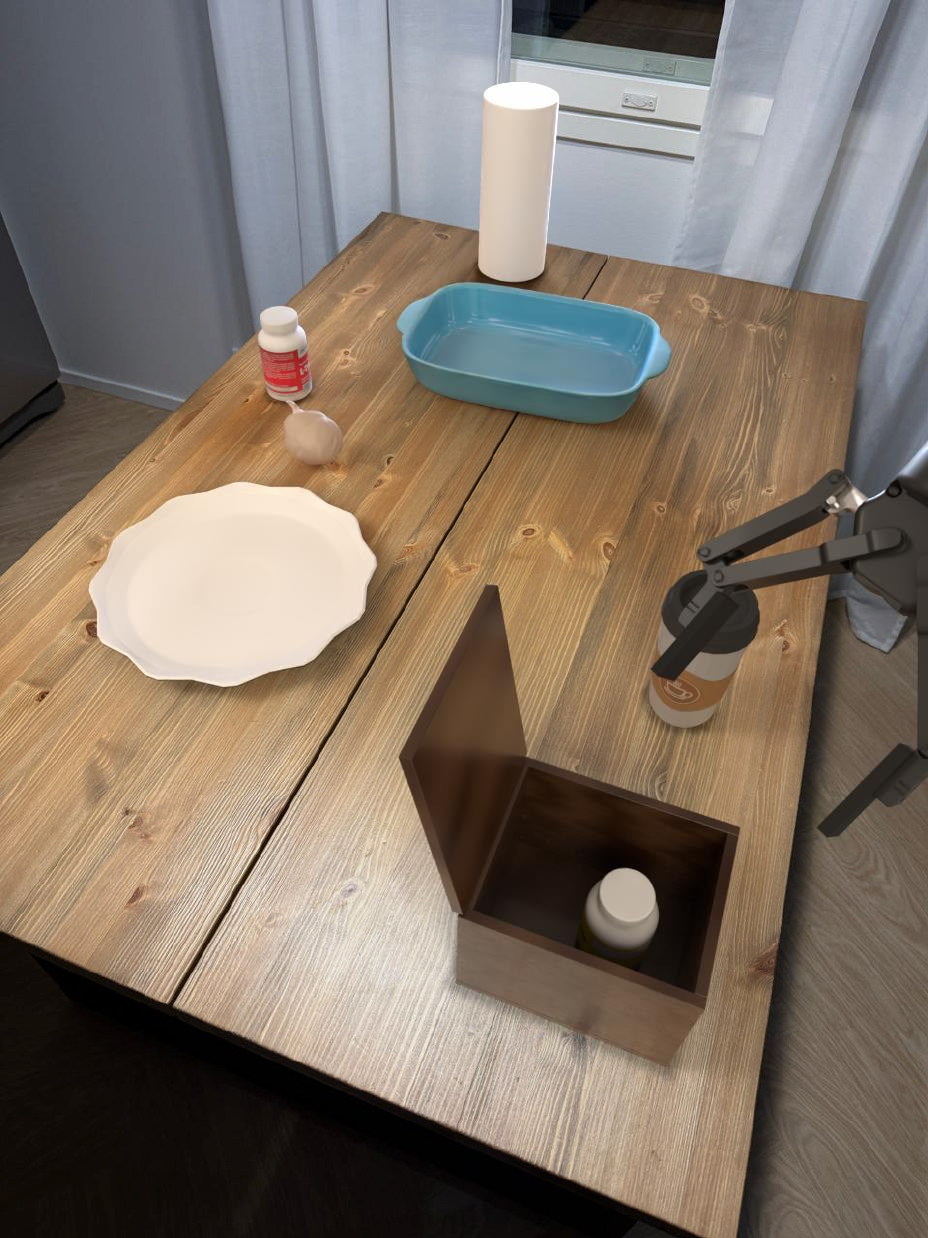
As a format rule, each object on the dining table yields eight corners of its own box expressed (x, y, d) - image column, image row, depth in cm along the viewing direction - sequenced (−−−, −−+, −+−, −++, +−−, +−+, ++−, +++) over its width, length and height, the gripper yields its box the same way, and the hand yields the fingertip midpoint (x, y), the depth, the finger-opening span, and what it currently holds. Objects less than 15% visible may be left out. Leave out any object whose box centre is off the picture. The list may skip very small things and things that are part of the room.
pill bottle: (312, 402, 119) (301, 327, 110) (265, 404, 118) (251, 328, 110) (313, 375, 123) (303, 301, 114) (268, 377, 122) (255, 302, 114)
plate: (39, 605, 94) (31, 590, 92) (243, 465, 110) (240, 450, 108) (232, 749, 83) (227, 735, 81) (429, 571, 98) (429, 555, 96)
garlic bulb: (327, 437, 114) (321, 383, 108) (352, 463, 110) (347, 409, 104) (281, 454, 111) (271, 401, 105) (304, 482, 108) (296, 428, 102)
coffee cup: (622, 711, 86) (648, 608, 75) (661, 656, 91) (691, 551, 79) (701, 753, 83) (741, 652, 72) (737, 694, 88) (780, 591, 76)
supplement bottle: (589, 902, 73) (606, 846, 65) (653, 931, 71) (677, 877, 64) (564, 961, 69) (578, 909, 62) (630, 993, 68) (653, 944, 61)
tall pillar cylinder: (549, 254, 147) (564, 85, 128) (537, 285, 140) (552, 112, 121) (486, 245, 148) (492, 78, 129) (471, 276, 141) (475, 104, 122)
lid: (498, 584, 55) (486, 582, 55) (411, 759, 47) (397, 756, 47) (527, 752, 67) (517, 750, 68) (463, 915, 59) (451, 911, 59)
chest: (702, 901, 74) (740, 827, 64) (666, 1067, 65) (704, 1010, 56) (512, 834, 77) (522, 754, 68) (455, 983, 69) (457, 916, 59)
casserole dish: (374, 397, 120) (370, 350, 114) (429, 315, 134) (428, 269, 128) (646, 453, 112) (656, 406, 107) (673, 360, 127) (684, 314, 121)
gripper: (1225, 619, 45) (922, 905, 51) (834, 383, 58) (628, 629, 64) (1245, 590, 39) (898, 918, 45) (804, 335, 52) (579, 611, 58)
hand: (738, 749), depth 54 cm, fingers open, 13 cm apart
